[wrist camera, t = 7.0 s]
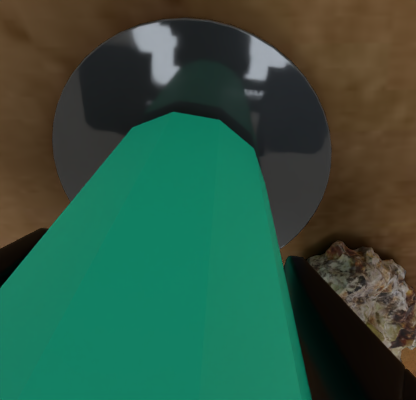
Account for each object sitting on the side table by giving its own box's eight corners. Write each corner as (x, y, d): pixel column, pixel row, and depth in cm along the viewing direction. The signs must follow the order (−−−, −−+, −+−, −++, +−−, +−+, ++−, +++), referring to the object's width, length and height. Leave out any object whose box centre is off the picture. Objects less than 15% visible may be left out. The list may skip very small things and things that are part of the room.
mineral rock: (437, 395, 16) (304, 445, 16) (381, 330, 20) (272, 368, 20) (486, 250, 11) (288, 317, 10) (398, 198, 15) (249, 245, 14)
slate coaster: (381, 179, 12) (387, 184, 11) (194, 295, 16) (193, 302, 16) (184, -82, 8) (182, -87, 8) (10, 166, 13) (3, 171, 12)
